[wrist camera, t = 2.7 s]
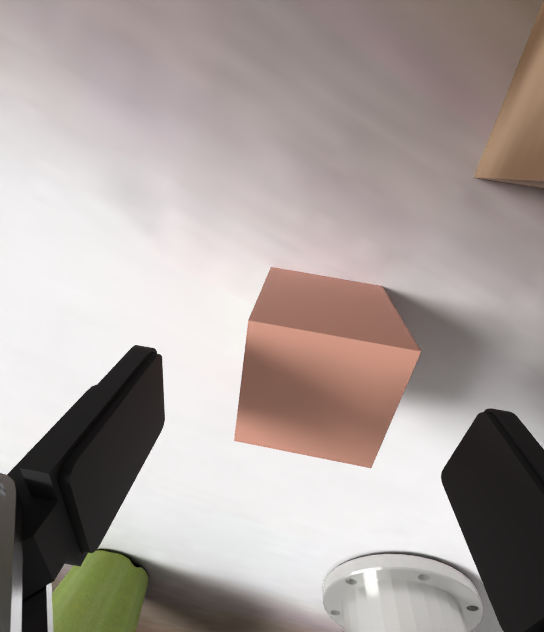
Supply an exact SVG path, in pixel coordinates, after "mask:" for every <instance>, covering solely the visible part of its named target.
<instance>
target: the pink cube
mask: <svg viewBox="0 0 544 632" xmlns="http://www.w3.org/2000/svg"><path fill="white" fill-rule="evenodd" d="M420 353H421V350H420V349H419V347H418V345H417V344H416V342H415V340H414V339H413V337H412V335H411V334H410V332H409V330H408V329H407V327H406V325H405V324H404V322H403V320H402V319H401V317H400V315H399V314H398V312H397V310H396V309H395V307H394V305H393V304H392V302H391V300H390V299H389V297H388V295H387V294H386V292H385V290H384V289H383V287H382V286H378V285H372V284H366V283H360V282H355V281H349V280H343V279H337V278H331V277H326V276H320V275H314V274H308V273H302V272H297V271H291V270H285V269H279V268H273V267H271V269H270V271H269V273H268V276H267V278H266V280H265V283H264V285H263V287H262V290H261V292H260V294H259V297H258V299H257V301H256V304H255V306H254V308H253V311H252V313H251V315H250V318H249V320H248V328H247V337H246V345H245V354H244V362H243V371H242V379H241V388H240V396H239V405H238V413H237V422H236V430H235V439H234V441H238V442H243V443H248V444H253V445H258V446H263V447H268V448H273V449H278V450H283V451H288V452H293V453H298V454H303V455H308V456H313V457H318V458H323V459H328V460H333V461H338V462H343V463H348V464H353V465H358V466H363V467H368V468H371V467H372V465H373V463H374V460H375V458H376V456H377V453H378V451H379V449H380V446H381V444H382V442H383V439H384V437H385V435H386V432H387V430H388V428H389V425H390V423H391V421H392V418H393V416H394V414H395V411H396V409H397V407H398V404H399V402H400V400H401V397H402V395H403V393H404V390H405V388H406V386H407V383H408V381H409V379H410V376H411V374H412V372H413V369H414V367H415V365H416V362H417V360H418V358H419V355H420Z"/></svg>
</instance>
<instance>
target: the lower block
mask: <svg viewBox="0 0 544 632" xmlns="http://www.w3.org/2000/svg"><path fill="white" fill-rule="evenodd" d="M474 178H479V179H486V180H493V181H499V182H506V183H513V184H520V185H526V186H533V187H540V188H544V1H543V4H542V6H541V9H540V11H539V14H538V16H537V19H536V21H535V24H534V26H533V29H532V31H531V34H530V36H529V39H528V42H527V44H526V47H525V49H524V52H523V54H522V57H521V59H520V62H519V64H518V67H517V69H516V72H515V74H514V77H513V79H512V82H511V84H510V87H509V90H508V92H507V95H506V97H505V100H504V102H503V105H502V107H501V110H500V112H499V115H498V117H497V120H496V122H495V125H494V127H493V130H492V133H491V135H490V138H489V140H488V143H487V145H486V148H485V150H484V153H483V155H482V158H481V160H480V163H479V165H478V168H477V170H476V173H475V176H474Z"/></svg>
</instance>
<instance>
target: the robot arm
mask: <svg viewBox="0 0 544 632" xmlns="http://www.w3.org/2000/svg"><path fill="white" fill-rule="evenodd" d="M164 421H165V413H164V391H163V369H162V356H161V355H160V354H157V351H156V349H154V348H150V347H144V346H138V345H135V346H133V347H132V348H131V349H130V350H129V351H128V352H127V353H126V354H125V355H124V357H123V358H122V359H121V360H120V361H119V362H118V363H117V364H116V365H115V366H114V367H113V368H112V369H111V370H110V372H109V373H108V374H107V375H106V376H105V377H104V378H103V379H102V380H101V381H100V382H99V383H98V384H97V385H95V386H92V387H91V388H90V389H89V390H87V391H86V393H85V394H84V395H83V396H82V397H81V398H80V399H79V400H78V401H77V402H76V403H75V404H74V405H73V406H72V407H71V408H70V409H69V410H68V411H67V412H66V414H65V415H64V416H63V417H62V418H61V419H60V420H59V421H58V422H57V423H56V424H55V425H54V426H53V427H52V428H51V429H50V430H49V431H48V432H47V433H46V435H45V436H44V437H43V438H42V439H41V440H40V441H39V442H38V443H37V444H36V445H35V446H34V447H33V448H32V449H31V450H30V451H29V452H28V453H27V454H26V456H25V457H24V458H23V459H22V460H21V461H20V462H19V463H18V464H17V465H16V466H15V467H14V468H13V469H12V470H11V471H10V472H9V473H8V474H7V475H5V474H2V473H0V632H53V610H52V587H51V582H53V581H54V580H55V578H56V577H57V575H58V573H59V572H60V570H61V568H62V567H63V565H64V563H65V564H70V565H75V566H80V567H81V565H82V563H83V561H84V559H85V558H86V556H87V554H88V553H94V552H95V551H96V550H97V548H98V547H99V545H100V544H101V542H102V540H103V538H104V536H105V534H106V532H107V531H108V529H109V527H110V525H111V523H112V521H113V520H114V518H115V516H116V514H117V512H118V510H119V508H120V507H121V505H122V503H123V501H124V499H125V497H126V495H127V494H128V492H129V490H130V488H131V486H132V484H133V483H134V481H135V479H136V477H137V475H138V473H139V471H140V470H141V468H142V466H143V464H144V462H145V460H146V459H147V457H148V455H149V453H150V451H151V449H152V447H153V446H154V444H155V442H156V440H157V438H158V436H159V434H160V433H161V431H162V428H163V425H164ZM441 479H442V484H443V486H444V489H445V491H446V494H447V496H448V499H449V501H450V503H451V506H452V508H453V511H454V513H455V516H456V518H457V521H458V523H459V526H460V528H461V530H462V533H463V535H464V538H465V540H466V543H467V545H468V548H469V550H470V553H471V555H472V557H473V560H474V562H475V565H476V567H477V570H478V572H479V575H480V577H481V579H482V582H483V584H484V587H485V589H486V592H487V594H488V597H489V599H490V602H491V604H492V606H493V609H494V611H495V614H496V616H497V619H498V621H499V624H500V626H501V628H502V630H503V631H504V632H544V449H543V448H542V447H541V446H540V444H539V443H538V442H537V441H536V439H535V438H534V437H533V436H532V434H531V433H530V432H529V431H528V429H527V428H526V427H525V426H524V424H523V423H522V422H521V421H520V420H519V418H518V417H517V416H516V415H515V414H514V413H512V412H508V411H502V410H496V409H486V410H485V411H484V412H481V413H479V414H478V415H477V417H476V418H475V420H474V421H473V423H472V425H471V426H470V428H469V429H468V431H467V432H466V434H465V436H464V437H463V439H462V440H461V442H460V443H459V445H458V447H457V448H456V450H455V451H454V453H453V454H452V456H451V458H450V459H449V461H448V462H447V464H446V465H445V467H444V469H443V471H442V474H441ZM323 605H324V608H325V610H326V612H327V613H328V614H329V616H330V617H331V618H332V619H333V620H334V621H335V622H336V623H337V624H338V625H340V626H341V627H343V632H471V631H472V630H473V629H475V628H476V627H477V625H478V624H479V623H480V621H481V620H482V616H483V613H484V610H483V604H482V601H481V599H480V596H479V594H478V591H477V589H476V587H475V586H474V584H473V583H472V582H471V580H470V579H468V578H467V577H466V576H465V575H464V574H462V573H461V572H460V571H458V570H456V569H454V568H452V567H450V566H449V565H446V564H444V563H441V562H438V561H436V560H432V559H428V558H424V557H420V556H413V555H405V554H379V555H370V556H365V557H360V558H356V559H353V560H350V561H347V562H345V563H343V564H341V565H340V566H338V567H336V568H335V569H334V570H333V571H332V572H330V573H329V574H328V576H327V577H326V579H325V580H324V584H323Z"/></svg>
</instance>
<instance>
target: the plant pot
mask: <svg viewBox="0 0 544 632" xmlns="http://www.w3.org/2000/svg"><path fill="white" fill-rule="evenodd" d="M148 582H149V579H148V575H147V573H146V572H145V570H144V569H143V568H141V567H138V568H137V567H135V566H134V565H133V564H132V563H131V561H130V559H128V558H126V557H125V556H124V555H122V554H119V553H112V552H107V551H104V550H97V551H95V552H94V553H88V554H87V556H86V558H85V559H84V561H83V563H82V565H81V567H80V566H75V565H74V566H73V567H72V568H71V570H70V571H69V572H68V573H67V575H66V576H65V577H64V579H63V580H62V581H61V583H60V584H59V585H58V586H57V588H56V589H55V590H54V592H53V593H52V610H53V632H135V630H136V627H137V623H138V619H139V616H140V612H141V608H142V604H143V601H144V597H145V593H146V589H147V586H148Z"/></svg>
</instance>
